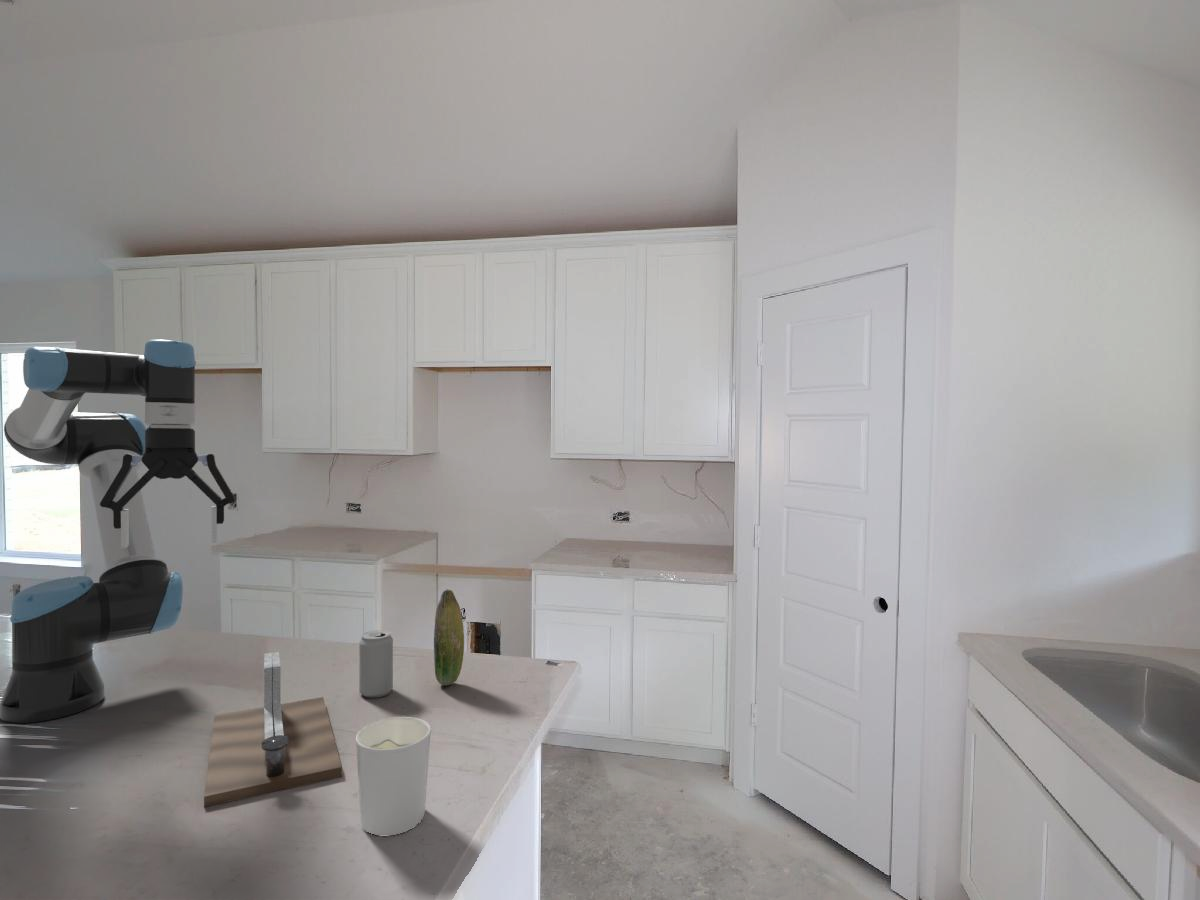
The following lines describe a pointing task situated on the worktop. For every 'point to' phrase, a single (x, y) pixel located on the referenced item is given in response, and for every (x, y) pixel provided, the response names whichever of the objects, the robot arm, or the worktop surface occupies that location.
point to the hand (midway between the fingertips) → (171, 544)
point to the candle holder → (392, 774)
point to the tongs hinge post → (275, 754)
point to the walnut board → (243, 759)
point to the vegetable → (448, 639)
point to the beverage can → (376, 663)
